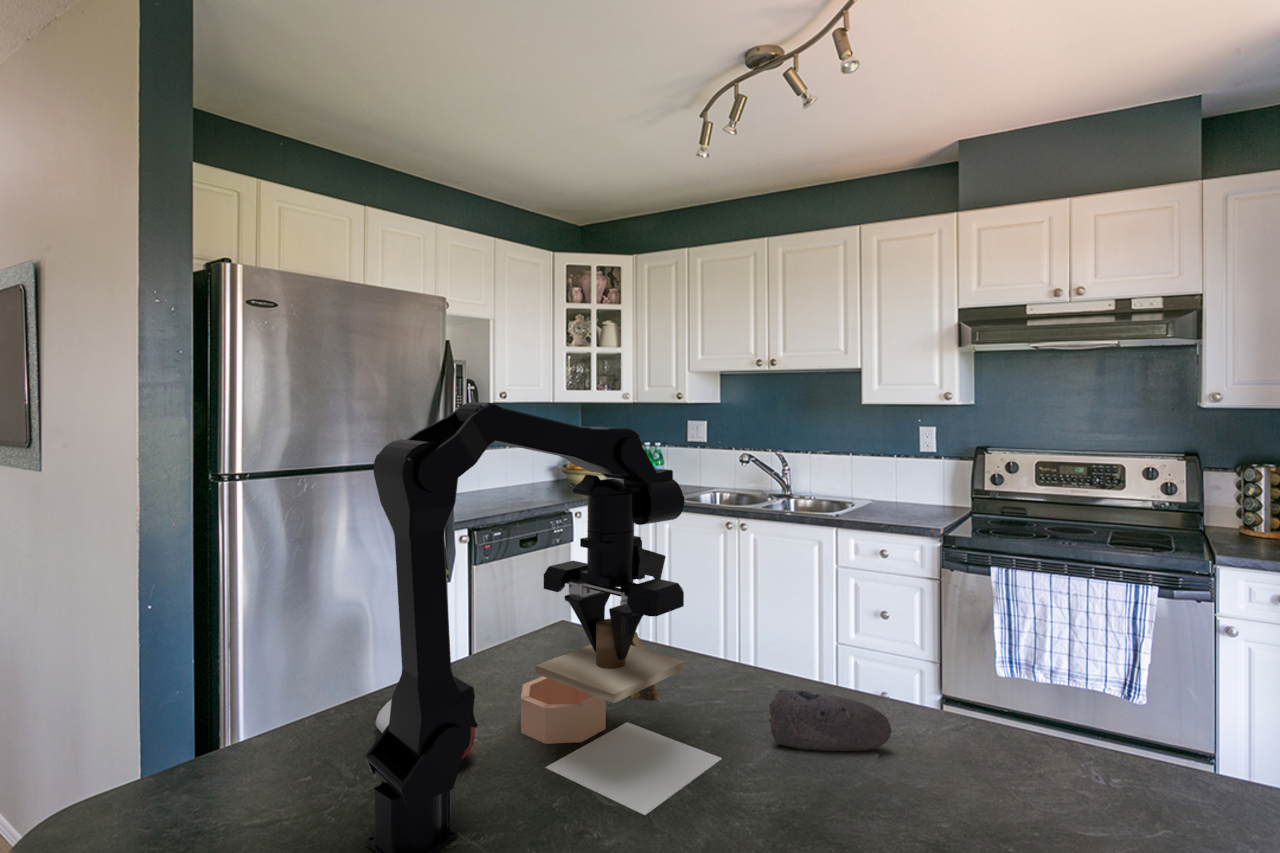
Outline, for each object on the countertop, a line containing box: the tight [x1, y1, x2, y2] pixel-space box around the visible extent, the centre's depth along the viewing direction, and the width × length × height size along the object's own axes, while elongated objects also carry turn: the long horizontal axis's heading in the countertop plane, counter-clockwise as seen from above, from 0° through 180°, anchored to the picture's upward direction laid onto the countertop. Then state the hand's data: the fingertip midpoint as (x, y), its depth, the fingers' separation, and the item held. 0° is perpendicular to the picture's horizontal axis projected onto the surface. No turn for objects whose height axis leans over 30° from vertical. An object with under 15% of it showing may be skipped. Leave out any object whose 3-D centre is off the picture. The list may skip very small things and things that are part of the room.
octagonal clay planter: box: [520, 676, 607, 745], centre depth 94 cm, size 11×11×5 cm
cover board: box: [535, 618, 685, 704], centre depth 87 cm, size 13×13×6 cm
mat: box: [544, 721, 723, 816], centre depth 84 cm, size 15×15×1 cm
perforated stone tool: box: [768, 689, 892, 752], centre depth 89 cm, size 15×5×7 cm, turn 80°
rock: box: [629, 632, 660, 701], centre depth 107 cm, size 11×9×10 cm
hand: (610, 655), depth 87 cm, fingers closed on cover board, 4 cm apart
